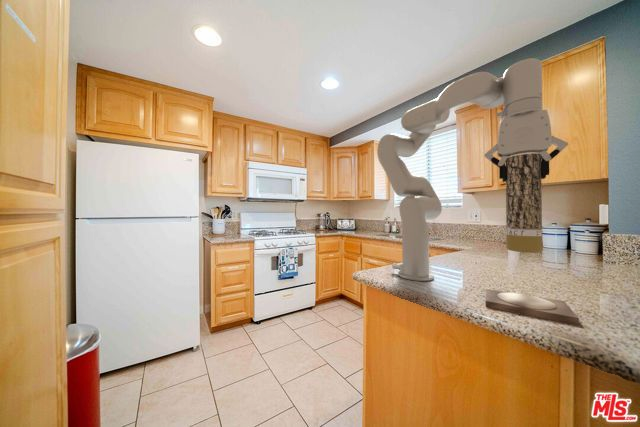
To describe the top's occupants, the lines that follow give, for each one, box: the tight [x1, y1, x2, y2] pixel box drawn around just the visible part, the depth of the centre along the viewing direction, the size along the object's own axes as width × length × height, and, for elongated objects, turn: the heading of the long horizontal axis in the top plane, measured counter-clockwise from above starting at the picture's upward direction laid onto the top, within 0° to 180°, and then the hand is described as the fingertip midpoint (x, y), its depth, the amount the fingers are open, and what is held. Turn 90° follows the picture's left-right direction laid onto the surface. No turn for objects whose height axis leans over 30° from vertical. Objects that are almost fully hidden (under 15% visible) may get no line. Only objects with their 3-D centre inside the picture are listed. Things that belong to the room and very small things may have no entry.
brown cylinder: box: [505, 152, 543, 254], centre depth 57 cm, size 7×7×25 cm
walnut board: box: [485, 288, 580, 326], centre depth 57 cm, size 16×12×2 cm
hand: (522, 179), depth 57 cm, fingers closed on brown cylinder, 6 cm apart
